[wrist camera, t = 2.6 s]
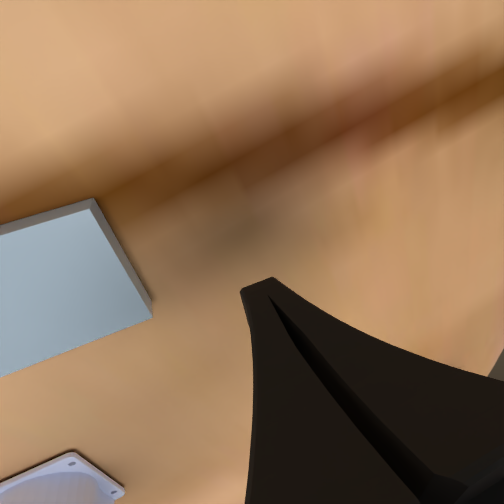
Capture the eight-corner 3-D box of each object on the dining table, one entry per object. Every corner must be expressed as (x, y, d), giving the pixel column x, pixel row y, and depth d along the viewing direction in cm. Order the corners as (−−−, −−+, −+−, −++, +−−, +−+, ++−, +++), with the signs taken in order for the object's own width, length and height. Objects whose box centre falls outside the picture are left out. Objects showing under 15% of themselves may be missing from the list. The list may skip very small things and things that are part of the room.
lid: (151, 296, 17) (152, 317, 16) (-64, 377, 15) (-89, 412, 13) (95, 194, 13) (89, 208, 12) (-210, 283, 11) (-270, 316, 9)
